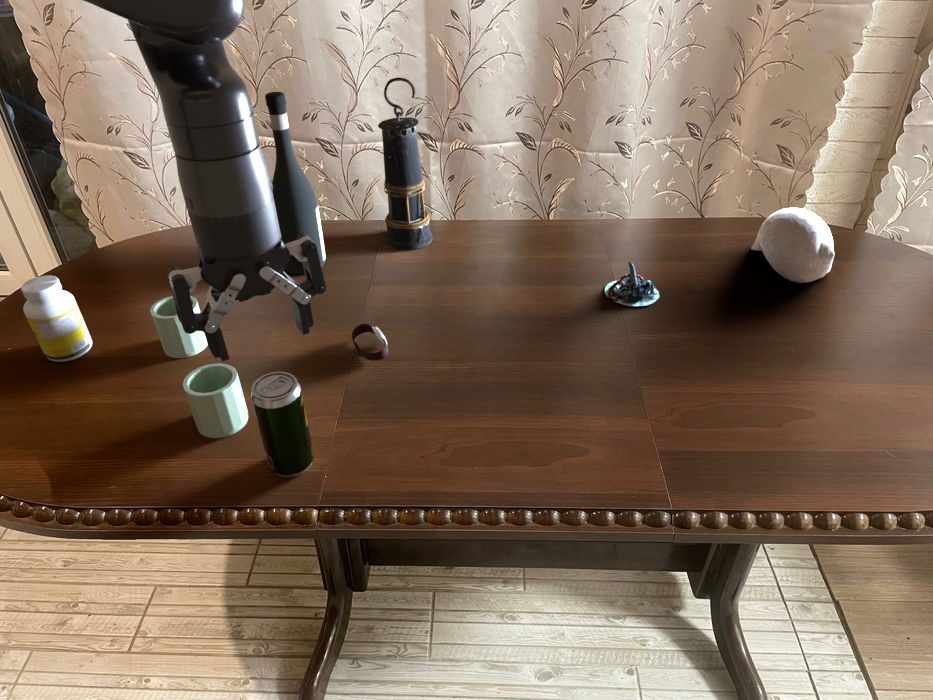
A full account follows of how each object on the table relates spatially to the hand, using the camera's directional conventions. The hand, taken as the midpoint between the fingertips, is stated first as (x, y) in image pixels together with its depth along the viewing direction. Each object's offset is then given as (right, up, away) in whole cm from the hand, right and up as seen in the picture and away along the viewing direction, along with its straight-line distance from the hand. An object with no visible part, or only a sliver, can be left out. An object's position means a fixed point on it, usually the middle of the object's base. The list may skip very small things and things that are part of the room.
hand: (264, 343), depth 68 cm
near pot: (-11, -10, +16) cm, 22 cm away
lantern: (+10, +21, +58) cm, 63 cm away
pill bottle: (-38, -1, +29) cm, 48 cm away
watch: (+7, -1, +29) cm, 30 cm away
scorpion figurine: (+49, +9, +42) cm, 65 cm away
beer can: (0, -14, +10) cm, 18 cm away
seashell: (+79, +14, +49) cm, 94 cm away
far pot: (-21, 0, +30) cm, 37 cm away
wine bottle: (-8, +14, +50) cm, 53 cm away
